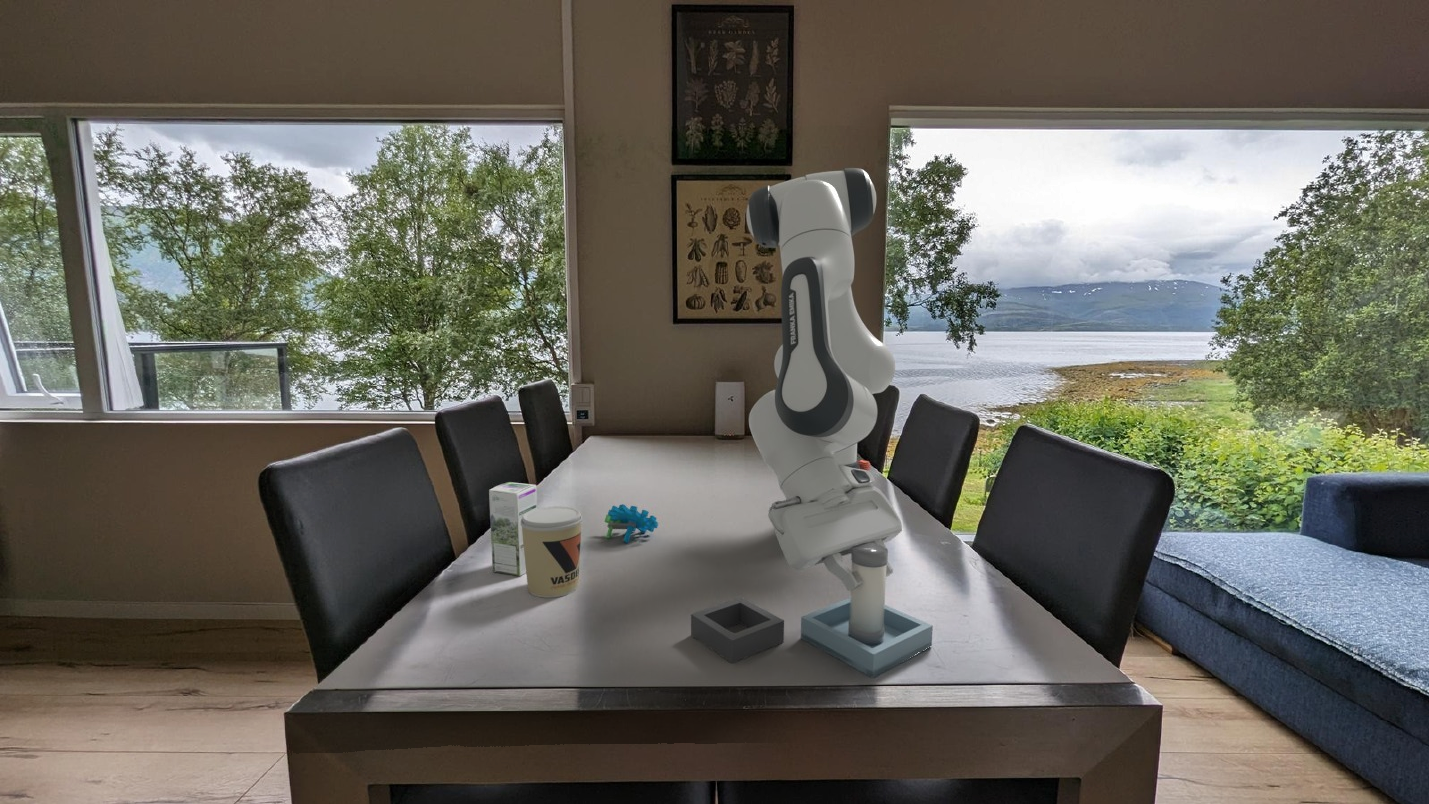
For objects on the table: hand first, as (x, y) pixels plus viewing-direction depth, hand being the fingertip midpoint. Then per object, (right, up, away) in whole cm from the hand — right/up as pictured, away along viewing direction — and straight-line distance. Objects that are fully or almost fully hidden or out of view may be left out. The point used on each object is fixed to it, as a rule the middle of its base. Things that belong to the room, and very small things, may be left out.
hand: (871, 581), depth 82 cm
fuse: (0, -8, +1) cm, 8 cm away
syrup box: (-54, -5, +26) cm, 60 cm away
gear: (-37, -4, +42) cm, 56 cm away
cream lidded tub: (-46, -6, +18) cm, 50 cm away
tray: (0, -9, +2) cm, 9 cm away
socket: (-17, -8, +2) cm, 19 cm away
